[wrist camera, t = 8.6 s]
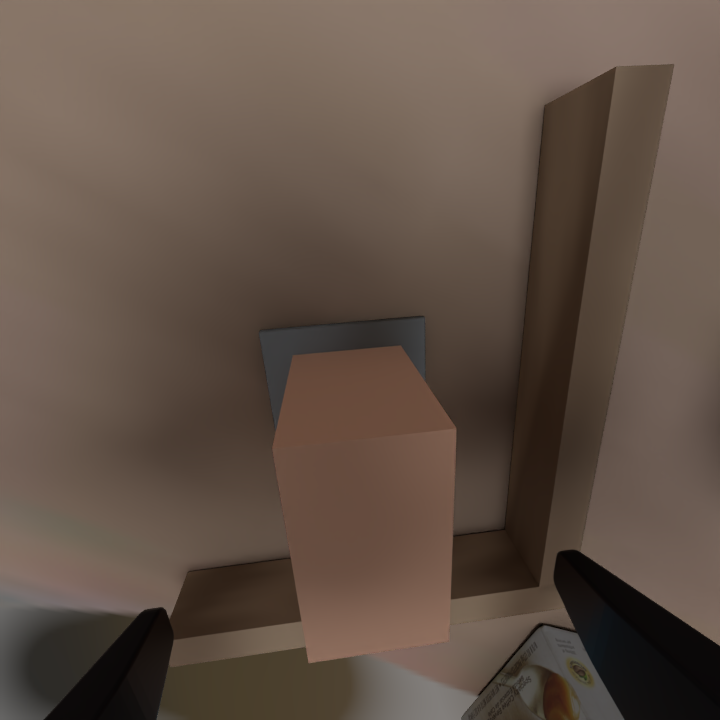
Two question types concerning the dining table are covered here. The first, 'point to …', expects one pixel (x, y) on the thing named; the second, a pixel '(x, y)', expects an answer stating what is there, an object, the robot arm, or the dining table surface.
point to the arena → (536, 380)
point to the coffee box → (546, 684)
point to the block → (366, 501)
